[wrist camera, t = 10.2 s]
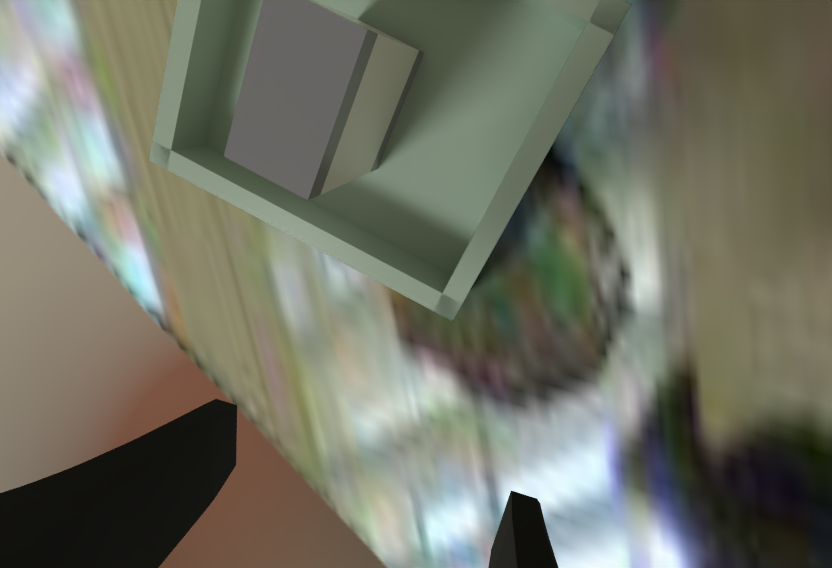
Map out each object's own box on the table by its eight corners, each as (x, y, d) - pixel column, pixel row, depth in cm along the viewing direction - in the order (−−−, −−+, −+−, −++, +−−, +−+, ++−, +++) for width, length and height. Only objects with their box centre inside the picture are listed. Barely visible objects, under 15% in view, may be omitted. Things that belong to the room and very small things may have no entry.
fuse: (424, 52, 16) (367, 30, 11) (376, 169, 18) (307, 200, 13) (357, 18, 16) (268, -20, 11) (317, 138, 18) (223, 156, 13)
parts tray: (617, 18, 15) (631, 3, 13) (462, 295, 20) (452, 320, 17) (261, -157, 16) (213, -200, 13) (192, 152, 20) (148, 159, 18)
